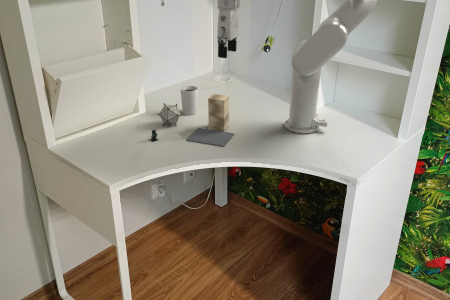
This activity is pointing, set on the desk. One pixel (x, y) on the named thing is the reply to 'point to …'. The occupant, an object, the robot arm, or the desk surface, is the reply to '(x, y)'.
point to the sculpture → (153, 136)
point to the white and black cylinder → (189, 100)
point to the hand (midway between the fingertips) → (227, 54)
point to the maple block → (218, 112)
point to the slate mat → (210, 137)
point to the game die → (170, 114)
